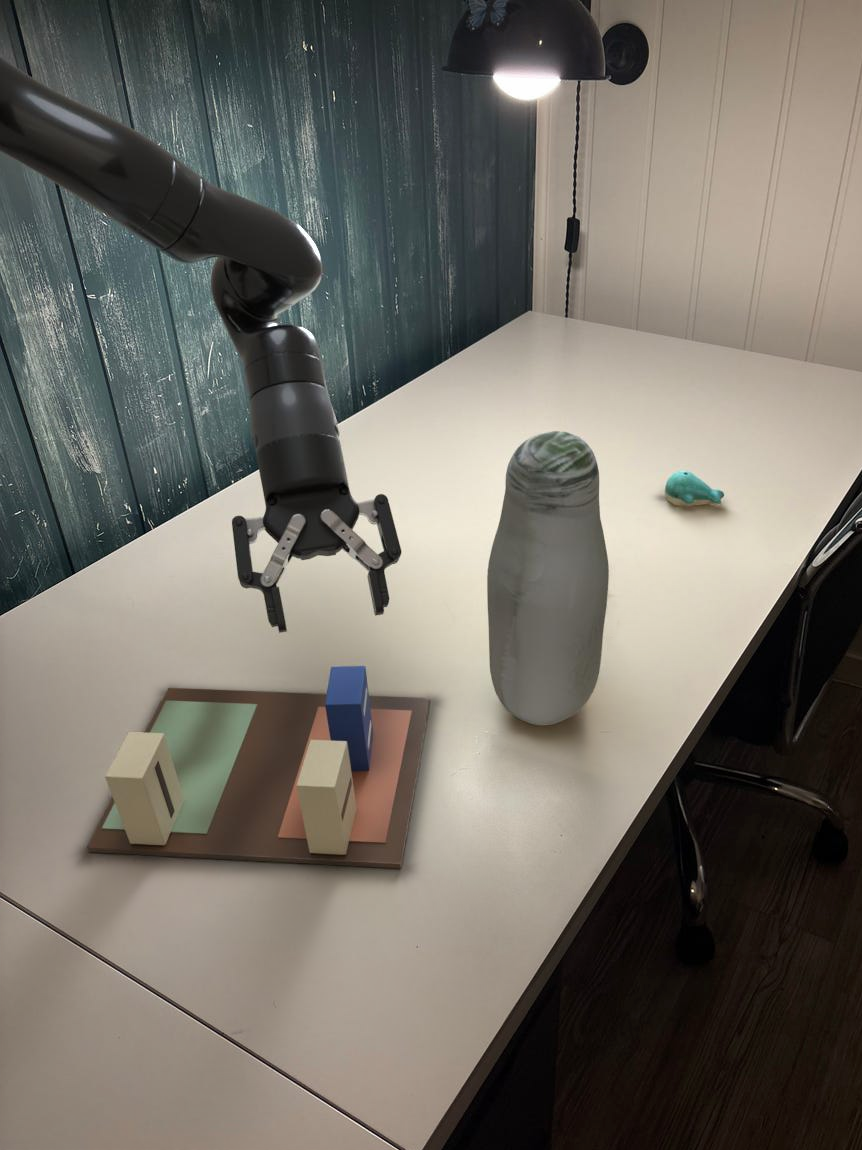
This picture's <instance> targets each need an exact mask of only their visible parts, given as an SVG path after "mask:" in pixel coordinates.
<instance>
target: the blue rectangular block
mask: <svg viewBox="0 0 862 1150" xmlns="http://www.w3.org/2000/svg"><path fill="white" fill-rule="evenodd" d="M367 676H368V675H367V668H366V665H347V666H331V667H330V671H329V676H328V677H329V678H328V684H327V690H326V694H327V695H326V702H325V708H326V715H327V721H328V727H329V733H330V740H331V741H347V745H348V752H349V759H350V766H351V771H369V768H370V758H371V748H372V738H373V726H372V718H371V710H370V701H369V696H370V694H369V685H368V677H367Z"/></svg>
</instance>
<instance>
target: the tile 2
mask: <svg viewBox="0 0 862 1150" xmlns="http://www.w3.org/2000/svg"><path fill="white" fill-rule="evenodd" d="M296 786H297V791H298V796H299V801H300V807H301V812H302V817H303V822H304V827H305V832H306V837H307V842H308V847H309V852H310V853H318V854H338V855H346V852H347V848H348V843H349V839H350V835H351V831H352V826H353V822H354V818H355V814H356V810H357V807H356V800H355V793H354V786H353V779H352V772H351V766H350V759H349V752H348V745H347V741H329V740H310V743H309V746H308V749H307V753H306V756H305V759H304V762H303V765H302V769H301V772H300V775H299V778H298V781H297V785H296Z"/></svg>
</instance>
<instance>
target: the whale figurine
mask: <svg viewBox="0 0 862 1150" xmlns="http://www.w3.org/2000/svg"><path fill="white" fill-rule="evenodd" d="M664 486H665V488H664V495H665V498H666V499H667V501H668V502H670V503H671V504H672V505H675V506H679V507H686V506H687V507H690V506H691V507H693V506H701V505H707V504H711V505H713V506H720V505H721V504H722V499H723V498H724V497H725V493H724V491H722V490H720V489H717V488H716V489H713V488H712V487H710V485H708V483H706V482H705V481H703V480H702V479H700V478H699V477H698V476H696V475H695V474H694V473H693V472H691V471H688V470H679V471H676V472H674V473H673V474H671V476H669V477H668V479H667V480H666V483H665V485H664Z"/></svg>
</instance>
